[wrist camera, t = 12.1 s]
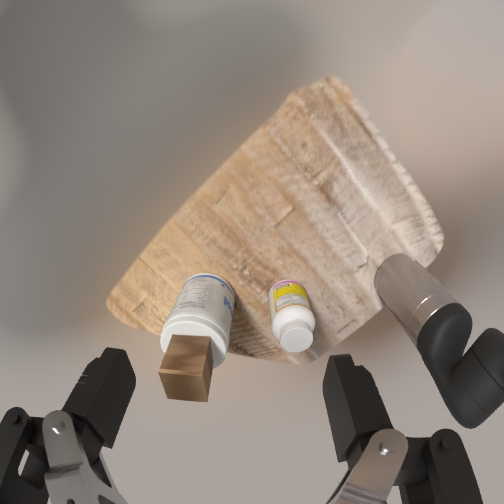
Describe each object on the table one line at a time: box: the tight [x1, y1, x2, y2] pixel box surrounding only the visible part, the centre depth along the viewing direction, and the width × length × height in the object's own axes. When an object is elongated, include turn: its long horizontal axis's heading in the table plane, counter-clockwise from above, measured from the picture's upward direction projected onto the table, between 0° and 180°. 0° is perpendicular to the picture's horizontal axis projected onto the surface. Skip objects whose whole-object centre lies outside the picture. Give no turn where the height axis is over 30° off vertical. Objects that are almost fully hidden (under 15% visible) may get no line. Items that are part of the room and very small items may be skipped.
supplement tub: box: [160, 273, 235, 368], centre depth 41 cm, size 10×10×15 cm
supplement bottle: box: [269, 279, 315, 353], centre depth 42 cm, size 7×7×13 cm
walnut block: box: [158, 334, 213, 402], centre depth 31 cm, size 5×5×7 cm
